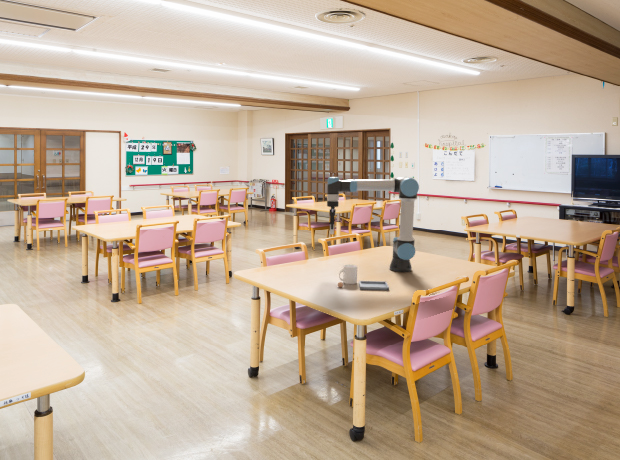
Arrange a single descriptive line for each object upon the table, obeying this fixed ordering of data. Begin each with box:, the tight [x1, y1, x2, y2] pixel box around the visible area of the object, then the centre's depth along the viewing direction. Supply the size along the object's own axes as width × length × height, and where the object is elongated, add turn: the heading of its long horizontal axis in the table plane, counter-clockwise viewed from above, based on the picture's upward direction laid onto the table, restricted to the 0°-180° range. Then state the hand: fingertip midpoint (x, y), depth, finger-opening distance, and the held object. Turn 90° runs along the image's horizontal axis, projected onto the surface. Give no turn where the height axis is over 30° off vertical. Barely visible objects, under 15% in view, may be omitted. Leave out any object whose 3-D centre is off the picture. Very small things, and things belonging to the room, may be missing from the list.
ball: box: [337, 281, 344, 288], centre depth 292 cm, size 3×3×3 cm
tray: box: [358, 280, 390, 291], centre depth 294 cm, size 17×14×2 cm
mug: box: [338, 263, 358, 285], centre depth 302 cm, size 9×12×11 cm
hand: (332, 232), depth 324 cm, fingers open, 13 cm apart
